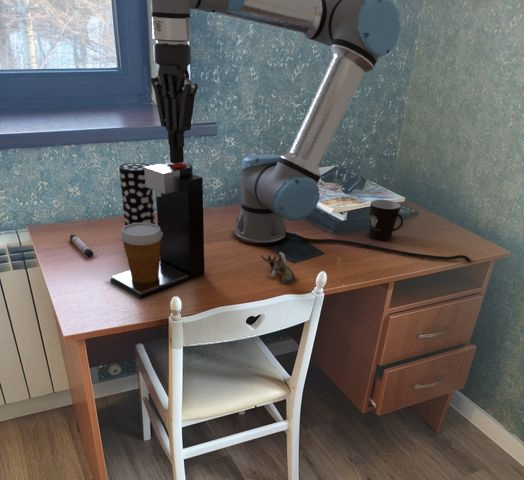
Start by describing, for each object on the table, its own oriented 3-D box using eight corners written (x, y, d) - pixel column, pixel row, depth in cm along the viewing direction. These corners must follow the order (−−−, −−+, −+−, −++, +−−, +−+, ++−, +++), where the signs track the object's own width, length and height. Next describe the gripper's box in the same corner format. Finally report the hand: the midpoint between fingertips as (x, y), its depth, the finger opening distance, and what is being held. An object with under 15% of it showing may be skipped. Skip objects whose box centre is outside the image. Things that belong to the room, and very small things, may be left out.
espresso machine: (190, 280, 131) (187, 172, 117) (140, 299, 122) (129, 184, 108) (160, 265, 138) (153, 161, 124) (110, 282, 128) (96, 172, 114)
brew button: (189, 172, 123) (188, 163, 122) (176, 174, 120) (176, 166, 119) (178, 168, 125) (178, 160, 124) (166, 171, 123) (166, 162, 121)
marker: (93, 256, 141) (93, 249, 140) (86, 258, 140) (85, 251, 139) (74, 238, 151) (73, 231, 150) (67, 239, 150) (66, 232, 149)
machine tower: (207, 274, 135) (205, 168, 121) (187, 281, 131) (183, 173, 116) (177, 259, 141) (172, 158, 127) (157, 266, 137) (149, 162, 123)
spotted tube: (159, 234, 156) (154, 164, 145) (151, 244, 149) (146, 171, 138) (131, 232, 157) (124, 161, 146) (122, 242, 150) (114, 169, 139)
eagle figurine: (253, 270, 135) (272, 277, 128) (265, 244, 134) (285, 250, 127) (275, 281, 140) (295, 288, 132) (287, 255, 139) (307, 262, 132)
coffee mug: (362, 231, 165) (367, 199, 159) (389, 231, 166) (395, 199, 160) (372, 245, 155) (377, 212, 150) (401, 246, 156) (407, 212, 151)
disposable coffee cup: (116, 281, 126) (111, 232, 119) (139, 266, 133) (135, 219, 127) (151, 289, 123) (147, 239, 116) (172, 273, 130) (170, 226, 124)
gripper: (137, 40, 110) (146, 158, 123) (178, 45, 103) (182, 170, 115) (166, 40, 115) (171, 154, 127) (207, 44, 107) (208, 165, 120)
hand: (177, 161), depth 121 cm, fingers closed
